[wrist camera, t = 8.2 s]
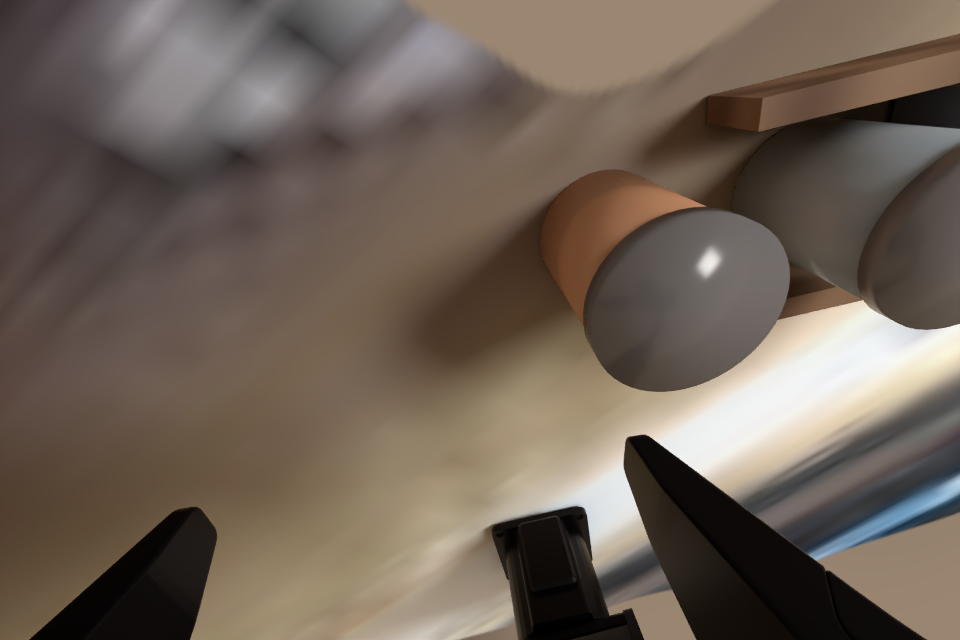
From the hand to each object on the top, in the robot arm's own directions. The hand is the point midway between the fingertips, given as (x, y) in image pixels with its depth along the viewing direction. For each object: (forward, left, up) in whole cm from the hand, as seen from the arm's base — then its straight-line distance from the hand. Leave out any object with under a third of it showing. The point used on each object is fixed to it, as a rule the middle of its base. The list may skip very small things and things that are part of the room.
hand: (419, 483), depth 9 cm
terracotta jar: (0, -8, -11) cm, 14 cm away
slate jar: (0, -17, -11) cm, 20 cm away
